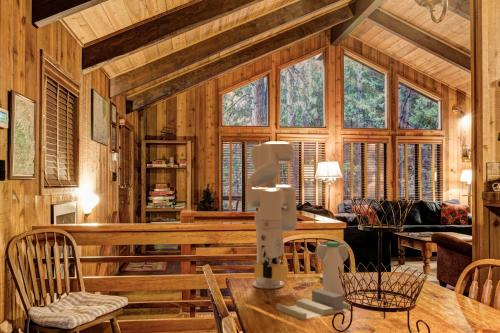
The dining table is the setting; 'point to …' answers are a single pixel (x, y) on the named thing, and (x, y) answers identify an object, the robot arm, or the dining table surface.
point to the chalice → (323, 251)
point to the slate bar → (328, 299)
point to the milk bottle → (332, 269)
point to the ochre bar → (277, 271)
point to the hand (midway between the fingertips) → (270, 275)
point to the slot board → (309, 309)
